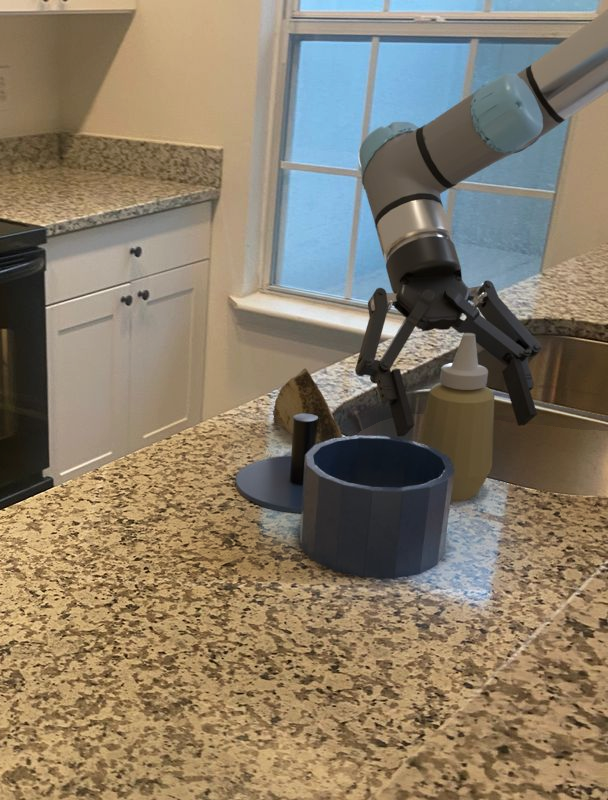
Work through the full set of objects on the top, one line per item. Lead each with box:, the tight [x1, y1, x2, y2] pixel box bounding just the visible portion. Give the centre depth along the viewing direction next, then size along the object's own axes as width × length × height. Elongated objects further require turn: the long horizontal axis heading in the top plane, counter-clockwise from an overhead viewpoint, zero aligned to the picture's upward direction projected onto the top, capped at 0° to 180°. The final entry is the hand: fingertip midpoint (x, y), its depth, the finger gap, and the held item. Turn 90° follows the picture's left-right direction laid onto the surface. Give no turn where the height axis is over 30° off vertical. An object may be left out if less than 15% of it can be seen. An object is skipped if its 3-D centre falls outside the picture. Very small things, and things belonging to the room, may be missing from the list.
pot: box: [299, 434, 455, 580], centre depth 100 cm, size 14×14×10 cm
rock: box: [272, 367, 343, 444], centre depth 128 cm, size 11×9×10 cm
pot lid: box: [235, 413, 318, 514], centre depth 113 cm, size 15×15×9 cm
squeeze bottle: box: [417, 333, 495, 502], centre depth 109 cm, size 8×8×18 cm
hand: (467, 425), depth 107 cm, fingers open, 13 cm apart
